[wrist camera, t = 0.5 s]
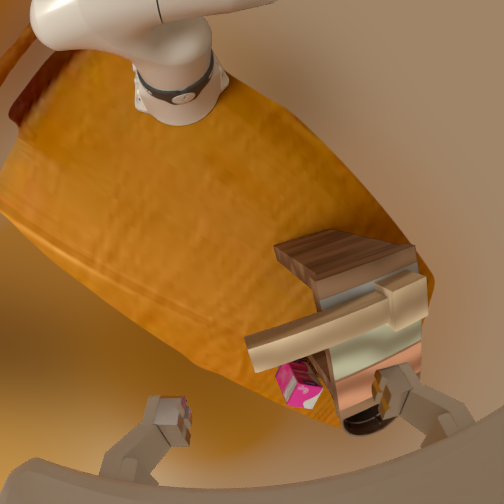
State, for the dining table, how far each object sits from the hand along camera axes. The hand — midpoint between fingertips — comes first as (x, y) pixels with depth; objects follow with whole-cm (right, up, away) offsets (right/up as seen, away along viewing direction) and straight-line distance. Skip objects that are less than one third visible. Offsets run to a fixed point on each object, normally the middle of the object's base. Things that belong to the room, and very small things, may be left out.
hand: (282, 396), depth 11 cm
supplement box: (+7, -20, +51) cm, 55 cm away
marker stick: (+8, -2, +21) cm, 22 cm away
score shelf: (+12, -2, +48) cm, 49 cm away
